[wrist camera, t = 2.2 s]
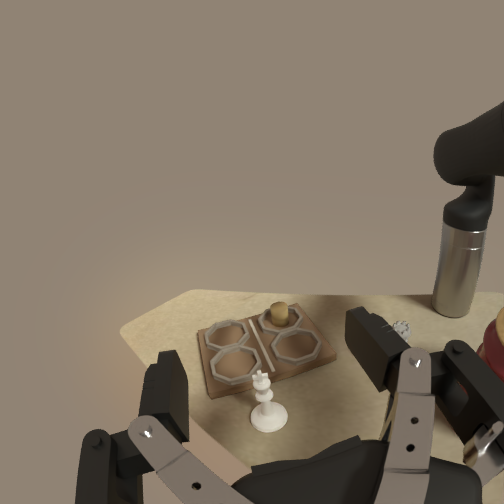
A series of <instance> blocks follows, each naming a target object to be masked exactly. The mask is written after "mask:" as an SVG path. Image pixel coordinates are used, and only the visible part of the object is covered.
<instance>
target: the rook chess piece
mask: <svg viewBox="0 0 504 504" xmlns="http://www.w3.org/2000/svg"><path fill="white" fill-rule="evenodd" d="M392 328H393V330H395V331H396V332H397V333H398V334H399V335H400V336H401V337H402V338H403V339H404V340H405V341H406V342H408V337H409V336H410V335H411V329H410V325H409V323H408V324H407V325H406V321H403V323H400V321H397V322H396V323H394V324H393V326H392Z"/></svg>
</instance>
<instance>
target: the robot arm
mask: <svg viewBox="0 0 504 504" xmlns="http://www.w3.org/2000/svg"><path fill="white" fill-rule="evenodd" d="M434 164H435V167H436V170H437V172H438V174H439V175H440V176H441V178H442V179H443V180H444V181H446V182H447V183H450V184H452V185H459V186H466V189H465V191H464V192H463V194H462V195H461V196H460V197H458V198H457V199H454V200H453V201H451V202H449V203H447V204H446V205H445V207H444V212H443V225H442V237H441V246H440V254H439V262H438V268H437V275H436V280H435V286H434V291H433V296H432V301H431V302H432V306H433V308H434V309H435V310H436V311H437V312H439V313H440V314H442V315H444V316H448V317H454V318H456V317H462V316H464V315H466V314H467V313H468V312H469V310H470V306H471V303H472V300H473V297H474V293H475V289H476V285H477V281H478V277H479V272H480V268H481V262H482V257H483V251H484V245H485V239H486V231H487V223H488V219H489V217H490V214H491V211H492V206H493V196H494V186H495V175H496V176H504V101H503V102H502V103H501V104H500V105H498V106H496V107H494V108H493V109H491V110H489V111H487V112H486V113H484V114H483V115H481V116H479V117H478V118H476V119H474V120H473V121H471V122H469V123H467V124H465V125H462V126H459V127H456V128H453V129H451V130H447V131H445V132H443V133H442V134H441V135H440V136H439V138H438V139H437V141H436V144H435V147H434ZM345 341H346V344H347V346H348V348H349V349H350V351H351V352H352V354H353V355H354V356H355V358H356V359H357V361H358V362H359V364H360V365H361V366H362V368H363V369H364V371H365V372H366V374H367V375H368V377H369V378H370V380H371V381H372V382H373V384H374V385H375V387H376V388H377V390H378V391H379V393H380V392H382V391H384V390H386V389H388V391H389V392H390V394H389V397H388V403H387V408H386V413H385V418H384V423H383V427H382V431H381V434H380V437H379V440H360V438H359V436H358V435H357V436H354V437H352V438H349V439H347V440H344V441H341V442H339V443H336V444H333V445H332V446H330V447H328V448H327V449H325V450H323V451H322V452H320V453H318V454H317V455H315V456H313V457H311V458H309V459H302V460H283V461H275V462H271V463H266V464H261V465H256V466H251V469H252V473H250V474H247V475H246V476H244V477H242V478H240V479H239V480H237V481H236V482H235V483H234V484H233V485H232V486H229V485H228V484H227V483H225V482H224V481H223V480H222V479H220V478H219V477H218V476H217V475H216V474H214V473H213V472H212V471H211V470H210V469H209V468H207V467H206V466H205V465H204V464H203V463H201V461H200V460H198V459H197V458H196V457H195V456H194V455H193V454H192V453H191V452H189V451H187V450H186V449H185V448H184V447H183V446H182V442H189V409H188V379H187V375H186V372H185V370H184V367H183V365H182V363H181V361H180V358H179V356H178V354H177V352H176V350H170V351H163V352H159V354H158V361H157V364H151V365H150V366H149V368H148V369H147V371H146V373H145V377H144V383H143V390H142V395H141V402H140V408H139V415H138V418H136V419H134V420H133V421H132V422H131V423H130V425H129V428H128V429H127V430H125V431H122V432H119V433H115V434H112V435H109V434H108V433H107V432H106V431H104V430H101V429H96V430H92V431H90V432H89V433H87V434H86V436H85V437H84V439H83V442H82V448H81V455H80V461H79V468H78V477H77V486H76V498H75V504H143V484H142V483H143V482H142V474H145V473H148V472H152V471H155V470H156V474H157V475H158V476H159V478H160V479H161V480H162V481H163V482H164V483H165V484H166V485H167V486H168V488H169V489H170V490H171V491H172V492H173V493H174V494H175V495H176V496H177V497H178V498H179V499H180V500H181V501H182V502H183V503H184V504H482V487H483V486H484V485H485V484H487V483H488V482H489V481H490V480H491V479H492V478H494V477H495V476H496V475H498V474H499V473H500V472H502V471H503V470H504V383H503V382H502V380H501V379H500V378H499V377H498V376H497V375H496V374H495V373H494V372H493V370H492V369H491V368H490V367H489V366H488V365H487V364H486V363H485V362H484V361H483V360H482V359H481V358H480V357H479V355H478V354H477V353H476V352H475V351H474V350H473V349H472V348H471V347H470V346H469V345H468V344H467V343H465V342H463V341H461V340H451V341H449V342H448V343H447V344H446V346H445V348H444V351H440V352H435V353H429V354H428V352H426V351H425V350H423V349H421V348H411V347H410V346H409V345H408V344H407V342H406V341H405V340H404V339H403V338H402V337H401V336H400V335H399V334H398V333H397V332H396V331H395V330H393V328H392V327H391V326H390V325H389V324H388V323H387V322H386V321H385V320H384V319H383V318H382V317H380V316H378V315H376V314H374V313H372V314H369V313H368V312H367V311H366V309H365V308H364V307H362V306H361V307H357V308H354V309H351V310H348V311H347V312H346V323H345ZM458 381H459V383H460V384H461V385H462V386H463V387H464V389H465V390H466V391H467V393H468V395H467V394H466V393H465V392H464V390H463V389H462V388H461V387H460V385H459V384H458V383H457V382H458ZM435 402H436V404H437V405H438V407H439V408H440V410H441V411H442V413H443V414H444V415H445V417H446V418H447V420H448V421H449V423H450V424H451V426H452V427H453V429H454V430H455V432H456V433H457V435H458V437H459V438H460V440H461V441H462V443H463V444H464V449H463V463H464V464H466V465H462V464H457V463H453V462H449V461H446V460H442V459H438V458H435V457H431V456H430V453H431V446H432V437H433V426H434V412H435Z"/></svg>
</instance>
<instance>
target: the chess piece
mask: <svg viewBox="0 0 504 504" xmlns="http://www.w3.org/2000/svg"><path fill="white" fill-rule="evenodd" d="M252 378H253V380H254V381H253V387H254V388H255V389H256V390H257V392H256V394H255V397H256V399H257V400H258V401H260V402H261V404H259V405H258V406H256V407H255V408H254V409H253V411H252V413H251V423H252V425H253V427H254V428H256V429H257V430H259V431H261V432H274V431H277V430H279V429H281V428H282V427H283V426H284V425H285V424H286V422H287V419H288V414H287V411H286V409H285V408H284V407H283V406H282V405H281V404H279V403H276V402H271V401H270V400H271V399H272V397H273V392H272V391H271V390H270V389H269V387H270V384H271V382H270V380H269V379H268V373H263V374H262V373H261V370H258V371H257V375H252Z"/></svg>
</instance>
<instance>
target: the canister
mask: <svg viewBox="0 0 504 504" xmlns="http://www.w3.org/2000/svg"><path fill="white" fill-rule="evenodd" d="M476 353H477V354H478V355H479V357H480V358H481V359H482V360H483V361H484V362H485V363H486V364H487V365H488V366H489V367H490V368H491V369H492V370H493V372H494V373H495V374H496V375H497V376H498V377H499V378H500V379H501V380H502V382H503V383H504V307H503V308H502V309H501V310H500V312H499V313H498V315H497V318H496V319H494V320H493V321H492V322H491V323H490V324H489V325H488V327H487V328H486V330H485V333H484V338H483V343H482V344H481V345H480V346H479V348H478V350H477V352H476ZM460 387H461V388H462V389H463V390H464V392H465V393H466V394H467V395H468V393H467V391H466V390H465V389H464V387H463V386H462V385H461V384H460Z"/></svg>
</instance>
